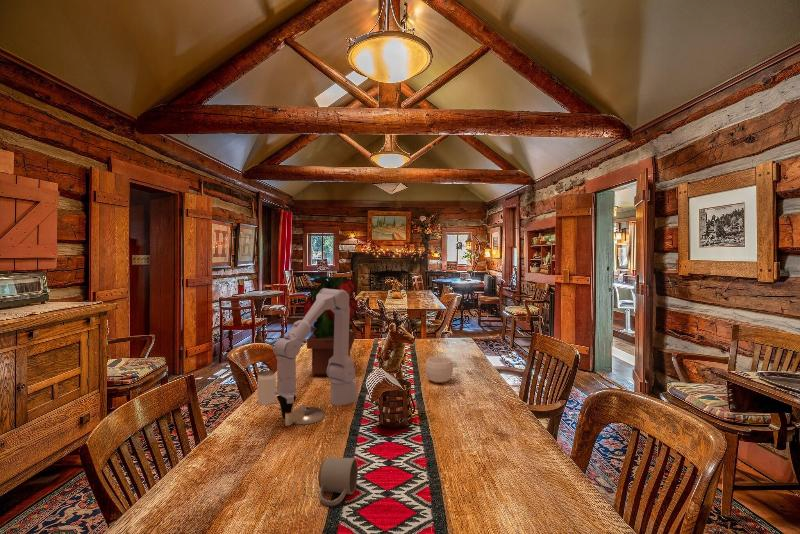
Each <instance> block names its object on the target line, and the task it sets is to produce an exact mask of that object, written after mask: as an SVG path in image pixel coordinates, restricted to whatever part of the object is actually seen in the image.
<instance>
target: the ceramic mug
mask: <svg viewBox="0 0 800 534" xmlns="http://www.w3.org/2000/svg"><path fill="white" fill-rule="evenodd" d="M358 476H359V465H358V461H357V459H356V457H328V458H324V459H323V460H322V461H321V463H320V466H319V470H318V477H317V478H318V480H317V481H318V482H317V483H318V486H319V489H320V490H319V498H320V501H321V503H322V504H323V505H325V506H327V505H330V506H329V507H334V506H337V505H339V504H340V503H341V502H342V501H343V500H344V498H345V496H346V495H353V494H354V492H355V490H356V487H357V483H358ZM324 491H325V492H329V493H335V494H336V493H338V494H340V495H339V496H338V497H337V498H335V499H332V500H327V499H326V498H325V497H323V494H324Z"/></svg>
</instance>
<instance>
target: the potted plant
mask: <svg viewBox="0 0 800 534" xmlns="http://www.w3.org/2000/svg"><path fill="white" fill-rule="evenodd" d="M352 277H353V276H334V277H332V276H321V275H319V276H318V277H313V282H314V283H315V284H319V285H318V286H317V287H316V288H314V289H311V290H310V293H309V294H310V296H312V297H308V298H307V299H306V301H305V302H303V318H304V317H305V315H306V314H307V313H308V311H309V310H310V308H311V307H312V305H313V304H314V302H315V301H316V295H317V294H318V293H319V292H320V290H321V289H323V288H327V289H335V290H345V291H346V292H347V293H348V294H349V308H350V313H349V322H351V321H352V320H353V321H355V314H356V313H357V314H358V313H359V311H358V308H359V307H358V303H359V300H358V299H359V298H358V297H357V298H355V297H352V296H353V293H355V292H356V291H357V285H356V283H355V282H354V281H353V279H350V278H352ZM334 321H335V314H334V312H333V311H331V310H330V309H329V310H325V311H324V312H323V313H322V314H321V315H320V316H319V317H318V318H317V319H316V321H315V322H314V323H313V327H314V328H316V329H314V331H313V332H312V334H311V335H310V336H309V337H308V338H307V340H306V349H307V350H309V349H310V350H311V374H315V375H316V377H328V376H327V367H328V364H329V359H330V358H331V357H332V356H333V355H334ZM352 328H353V324H352V323H349V348H348V355H349V357H350V358H351V350H352V348H353V345H354V342H355V334H356V333H355V331H351V330H352Z"/></svg>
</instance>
